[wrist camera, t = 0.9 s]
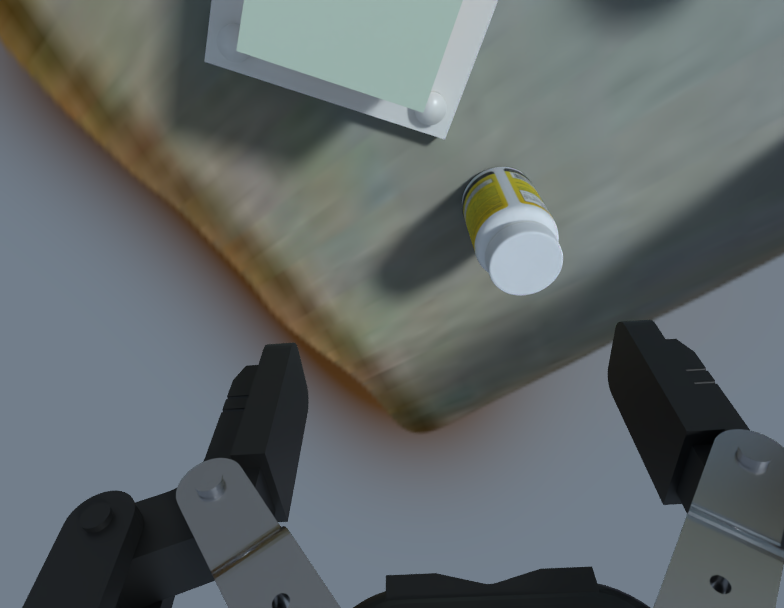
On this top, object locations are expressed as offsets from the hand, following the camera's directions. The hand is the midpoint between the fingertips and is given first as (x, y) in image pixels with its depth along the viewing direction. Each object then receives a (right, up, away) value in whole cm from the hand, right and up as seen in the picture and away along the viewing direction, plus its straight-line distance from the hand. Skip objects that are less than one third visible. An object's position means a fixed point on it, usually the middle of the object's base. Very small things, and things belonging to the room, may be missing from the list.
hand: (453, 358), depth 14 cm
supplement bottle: (+5, +8, +22) cm, 24 cm away
